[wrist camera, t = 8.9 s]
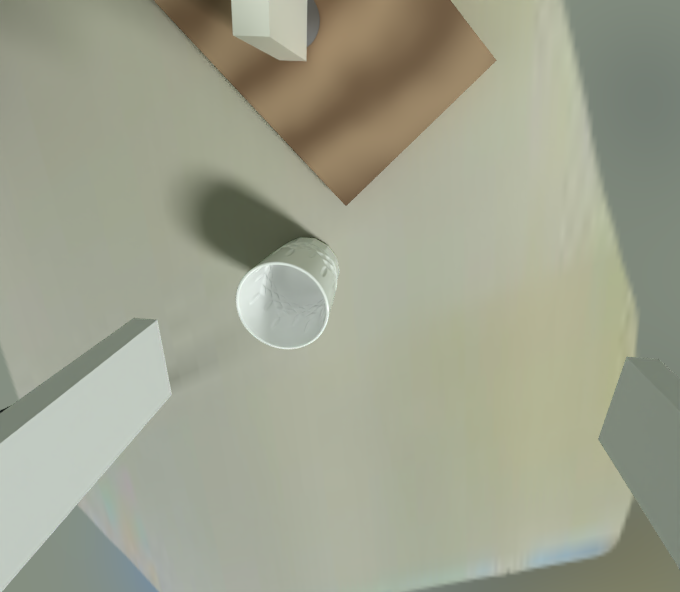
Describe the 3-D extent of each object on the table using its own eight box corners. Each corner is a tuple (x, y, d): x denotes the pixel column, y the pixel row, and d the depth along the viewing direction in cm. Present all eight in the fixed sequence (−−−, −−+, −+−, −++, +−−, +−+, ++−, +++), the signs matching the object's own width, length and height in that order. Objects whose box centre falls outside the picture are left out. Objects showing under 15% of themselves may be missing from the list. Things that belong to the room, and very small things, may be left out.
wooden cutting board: (136, -28, 33) (114, -41, 31) (255, -239, 27) (240, -275, 25) (349, 201, 38) (345, 206, 36) (489, 65, 32) (497, 59, 30)
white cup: (263, 237, 41) (223, 268, 32) (337, 225, 39) (317, 255, 30) (281, 306, 44) (249, 353, 35) (351, 297, 42) (337, 345, 33)
